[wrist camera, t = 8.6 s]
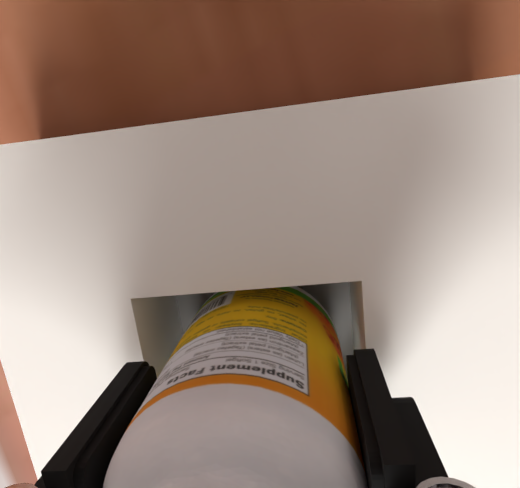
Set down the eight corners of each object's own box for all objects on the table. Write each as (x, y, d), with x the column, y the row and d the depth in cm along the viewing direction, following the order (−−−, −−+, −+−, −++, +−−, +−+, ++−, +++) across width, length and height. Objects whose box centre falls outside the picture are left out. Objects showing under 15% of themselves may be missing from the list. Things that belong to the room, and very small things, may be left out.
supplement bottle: (327, 416, 15) (377, 893, 5) (188, 396, 15) (9, 807, 6) (349, 283, 13) (467, 617, 4) (195, 265, 14) (-28, 530, 4)
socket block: (40, 150, 15) (-64, 153, 11) (475, 93, 13) (562, 68, 9) (123, 486, 19) (71, 588, 15) (470, 481, 17) (529, 597, 13)
